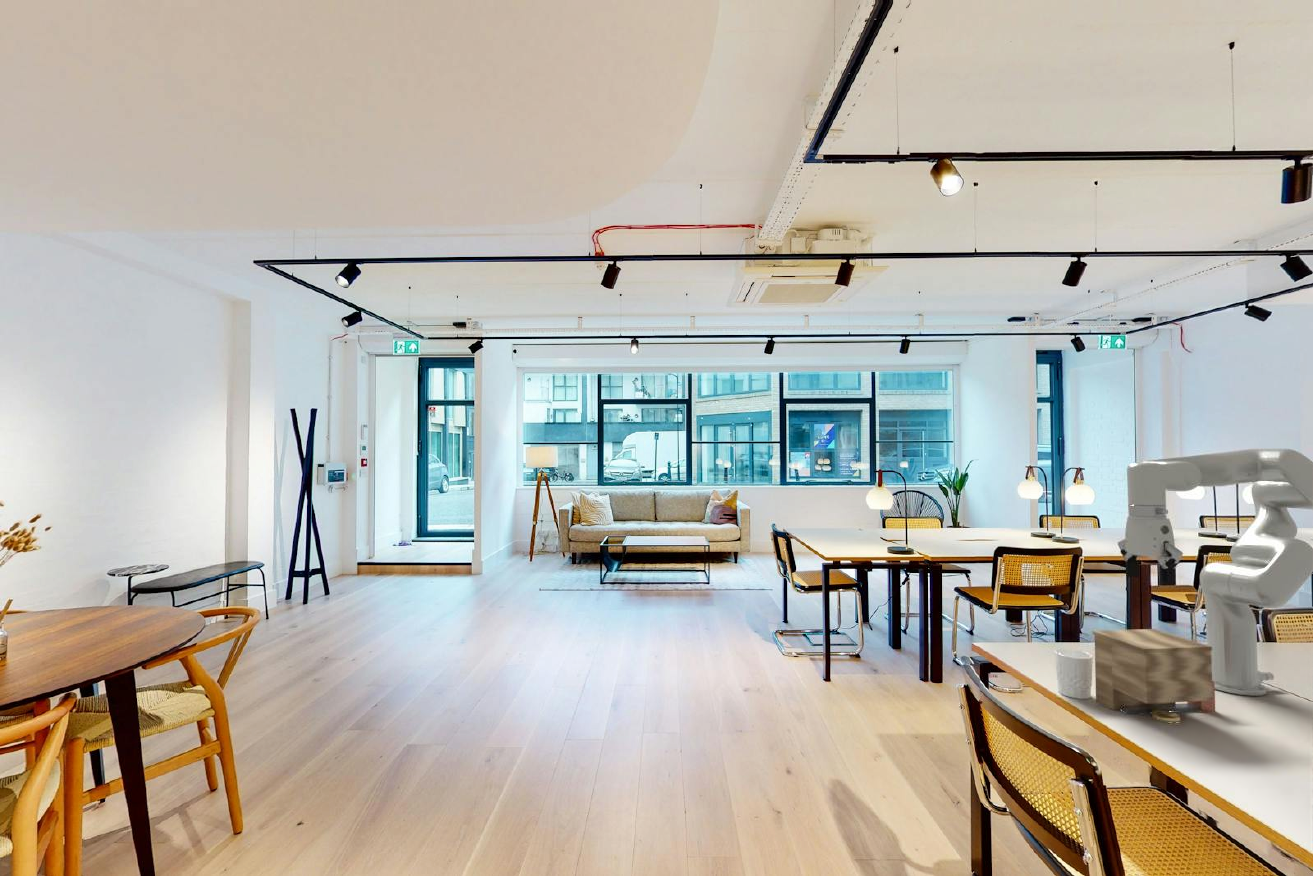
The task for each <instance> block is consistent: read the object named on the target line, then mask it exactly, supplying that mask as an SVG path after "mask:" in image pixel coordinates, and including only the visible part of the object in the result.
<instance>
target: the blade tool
mask: <svg viewBox="0 0 1313 876" xmlns="http://www.w3.org/2000/svg"><path fill="white" fill-rule="evenodd" d="M1212 693H1213V700H1212V701H1190V702H1186V703H1185V702H1183V703H1176V704H1161V705H1139V706H1121V710H1122V711H1124V712H1123V713H1125V712H1126V713H1125V714H1126V715H1134V714H1133V713H1144V714H1152V711H1153V710H1163V711H1168V712H1169V711H1186V712H1200V711H1201V712H1200V713H1213V712H1214V713H1215V712H1216V689H1215V681H1213V680H1212ZM1121 710H1120V711H1121ZM1122 711H1121V712H1122ZM1212 711H1213V712H1212Z"/></svg>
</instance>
